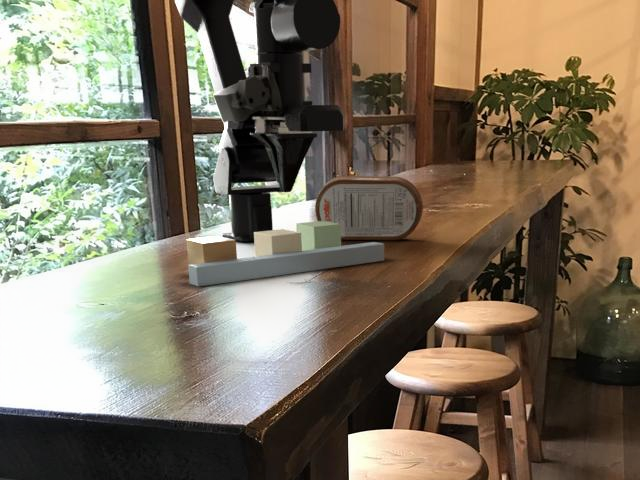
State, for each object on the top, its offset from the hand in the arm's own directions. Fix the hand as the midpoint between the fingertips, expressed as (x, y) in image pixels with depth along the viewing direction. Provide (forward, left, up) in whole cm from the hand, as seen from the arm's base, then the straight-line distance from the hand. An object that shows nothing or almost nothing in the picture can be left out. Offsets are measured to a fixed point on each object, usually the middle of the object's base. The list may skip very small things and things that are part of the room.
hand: (286, 192), depth 103 cm
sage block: (+7, 0, -7) cm, 10 cm away
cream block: (+11, -8, -7) cm, 15 cm away
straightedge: (+14, -8, -7) cm, 17 cm away
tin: (0, +14, -7) cm, 15 cm away
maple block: (+11, -17, -7) cm, 21 cm away
